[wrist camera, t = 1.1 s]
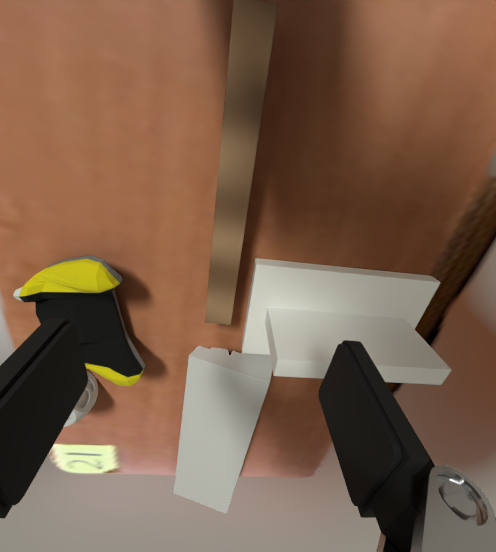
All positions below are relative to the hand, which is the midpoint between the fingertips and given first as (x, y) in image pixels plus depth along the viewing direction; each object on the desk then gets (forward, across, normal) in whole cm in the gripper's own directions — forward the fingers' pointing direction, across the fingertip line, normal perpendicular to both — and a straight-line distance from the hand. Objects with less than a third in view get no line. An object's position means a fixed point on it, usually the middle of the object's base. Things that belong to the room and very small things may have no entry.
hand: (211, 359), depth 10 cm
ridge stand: (+17, -14, +10) cm, 24 cm away
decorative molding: (+18, -2, +34) cm, 38 cm away
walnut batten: (+18, 0, -2) cm, 18 cm away
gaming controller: (+18, +13, +12) cm, 25 cm away
